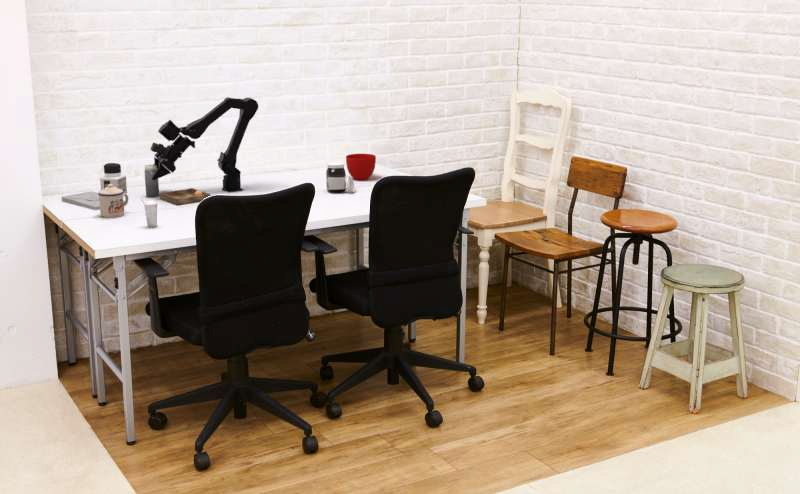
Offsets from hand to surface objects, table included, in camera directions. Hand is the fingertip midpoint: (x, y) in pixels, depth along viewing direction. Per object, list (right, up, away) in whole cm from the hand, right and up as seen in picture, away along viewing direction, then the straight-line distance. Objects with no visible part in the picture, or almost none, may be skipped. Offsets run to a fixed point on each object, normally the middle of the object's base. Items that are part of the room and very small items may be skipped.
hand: (150, 177), depth 416 cm
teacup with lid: (-6, -16, -28) cm, 33 cm away
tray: (+15, -9, -4) cm, 18 cm away
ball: (+20, -9, -5) cm, 22 cm away
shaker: (0, -7, +2) cm, 8 cm away
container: (-16, -7, +4) cm, 18 cm away
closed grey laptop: (-20, -11, -9) cm, 25 cm away
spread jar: (+76, -5, +11) cm, 77 cm away
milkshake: (+11, -21, -45) cm, 51 cm away
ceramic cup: (+84, +2, +38) cm, 92 cm away
